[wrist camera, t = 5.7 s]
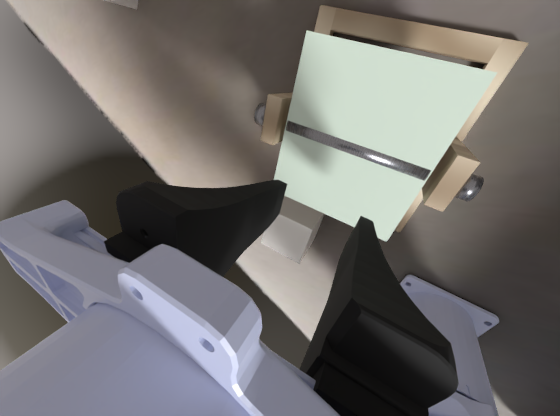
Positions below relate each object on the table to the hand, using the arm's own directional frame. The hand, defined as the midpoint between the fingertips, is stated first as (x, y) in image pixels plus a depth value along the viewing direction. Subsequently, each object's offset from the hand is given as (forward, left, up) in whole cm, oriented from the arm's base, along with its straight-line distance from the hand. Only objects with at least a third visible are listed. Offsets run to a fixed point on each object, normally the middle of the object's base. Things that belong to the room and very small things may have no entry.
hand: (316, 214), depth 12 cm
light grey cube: (-8, +3, -10) cm, 13 cm away
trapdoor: (+3, 0, -6) cm, 7 cm away
